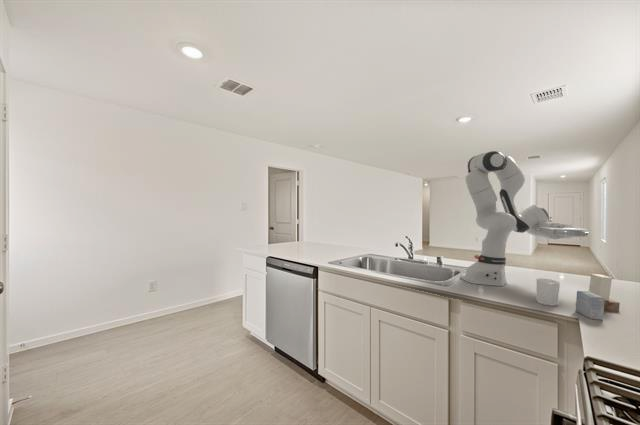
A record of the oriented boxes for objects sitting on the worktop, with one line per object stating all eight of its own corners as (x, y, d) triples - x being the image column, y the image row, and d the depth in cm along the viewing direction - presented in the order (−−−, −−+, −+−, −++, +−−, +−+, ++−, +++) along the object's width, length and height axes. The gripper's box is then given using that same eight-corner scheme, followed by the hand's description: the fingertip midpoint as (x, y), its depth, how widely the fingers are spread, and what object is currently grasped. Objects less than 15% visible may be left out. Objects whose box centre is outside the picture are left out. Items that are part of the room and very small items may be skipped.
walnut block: (596, 311, 113) (597, 301, 113) (576, 303, 122) (577, 294, 122) (618, 312, 113) (619, 302, 113) (597, 303, 122) (598, 295, 122)
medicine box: (603, 320, 103) (605, 298, 103) (589, 319, 104) (591, 296, 104) (587, 312, 111) (589, 291, 111) (575, 310, 112) (576, 290, 112)
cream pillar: (598, 300, 114) (601, 277, 114) (588, 296, 119) (591, 274, 118) (608, 300, 115) (611, 277, 114) (598, 296, 119) (600, 274, 118)
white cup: (533, 302, 120) (534, 280, 120) (537, 298, 125) (538, 277, 125) (556, 308, 114) (557, 284, 114) (560, 304, 119) (561, 281, 119)
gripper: (533, 223, 142) (554, 226, 129) (573, 225, 142) (599, 228, 128) (532, 235, 143) (553, 239, 129) (572, 237, 142) (598, 241, 128)
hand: (576, 233), depth 128 cm, fingers open, 8 cm apart
